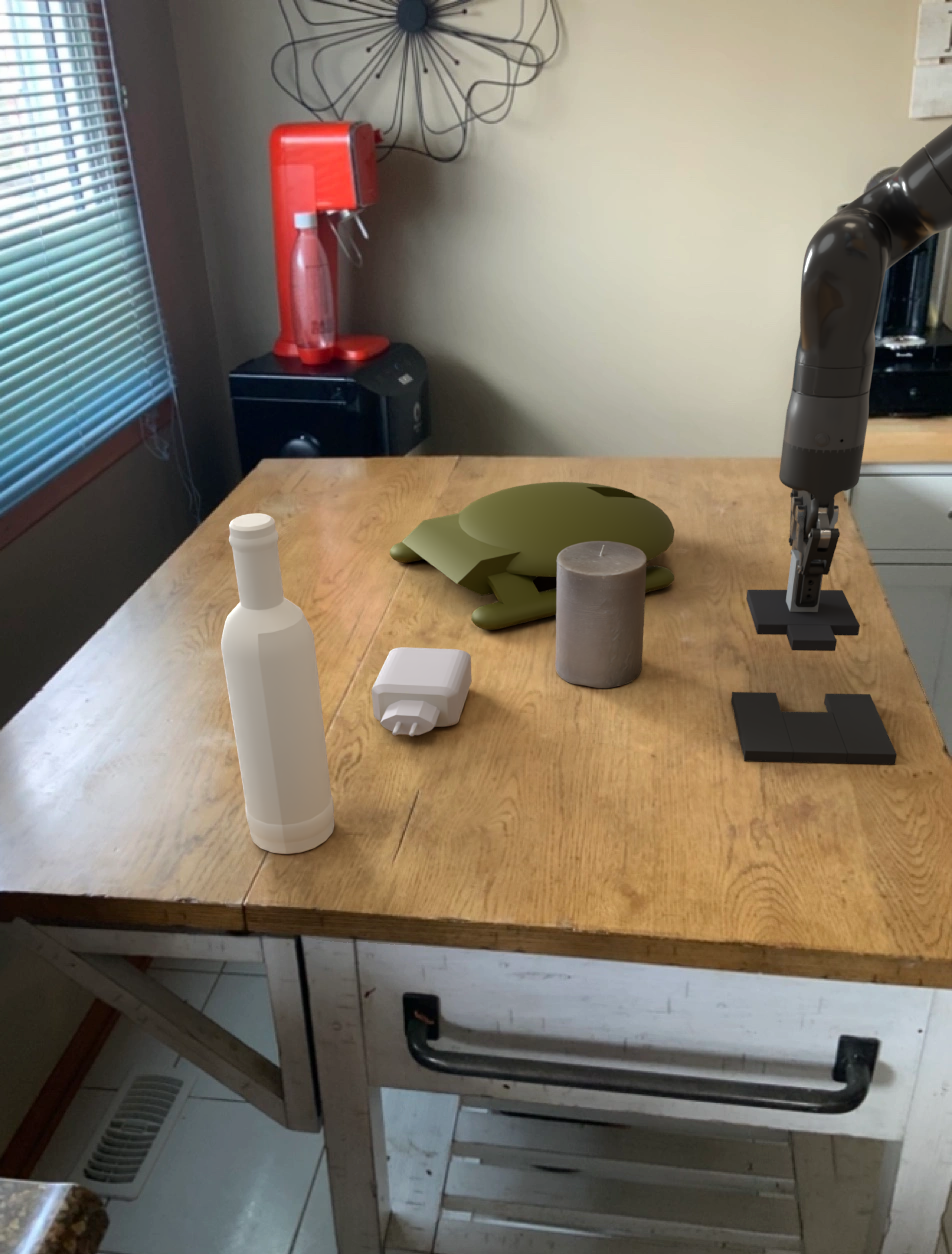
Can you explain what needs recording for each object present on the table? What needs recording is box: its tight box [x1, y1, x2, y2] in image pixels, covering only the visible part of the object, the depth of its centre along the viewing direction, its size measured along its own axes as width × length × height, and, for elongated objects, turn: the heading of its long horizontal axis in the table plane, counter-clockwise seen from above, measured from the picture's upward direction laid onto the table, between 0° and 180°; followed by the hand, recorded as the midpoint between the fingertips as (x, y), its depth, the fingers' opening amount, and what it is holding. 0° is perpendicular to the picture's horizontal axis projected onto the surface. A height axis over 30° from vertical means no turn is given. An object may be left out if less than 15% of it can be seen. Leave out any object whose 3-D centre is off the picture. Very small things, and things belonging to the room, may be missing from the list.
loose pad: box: [745, 549, 861, 652], centre depth 116 cm, size 10×13×7 cm
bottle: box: [220, 512, 335, 855], centre depth 97 cm, size 8×8×30 cm
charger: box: [371, 646, 473, 737], centre depth 120 cm, size 5×9×15 cm
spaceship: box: [389, 481, 675, 631], centre depth 152 cm, size 35×31×10 cm
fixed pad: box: [730, 691, 898, 766], centre depth 114 cm, size 14×12×1 cm
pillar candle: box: [554, 541, 648, 689], centre depth 125 cm, size 10×10×15 cm
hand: (802, 598), depth 118 cm, fingers closed on loose pad, 3 cm apart
